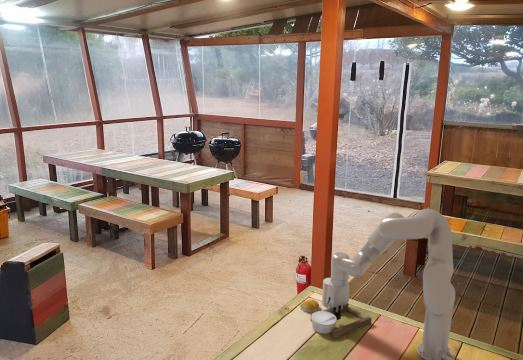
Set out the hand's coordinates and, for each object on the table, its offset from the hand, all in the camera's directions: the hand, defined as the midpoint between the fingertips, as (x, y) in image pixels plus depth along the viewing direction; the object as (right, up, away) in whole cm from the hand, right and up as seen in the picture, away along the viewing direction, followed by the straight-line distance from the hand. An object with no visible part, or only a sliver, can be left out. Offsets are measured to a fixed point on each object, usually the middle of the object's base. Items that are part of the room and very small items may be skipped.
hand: (336, 318), depth 191 cm
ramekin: (-7, -4, -3) cm, 8 cm away
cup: (0, +1, +18) cm, 18 cm away
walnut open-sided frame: (+2, -2, +2) cm, 4 cm away
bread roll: (-11, 0, +13) cm, 17 cm away
